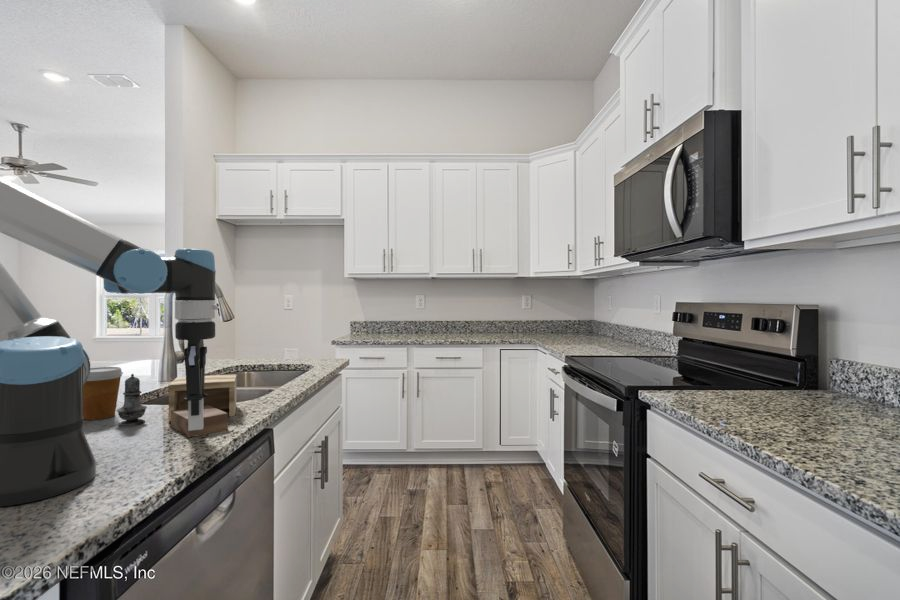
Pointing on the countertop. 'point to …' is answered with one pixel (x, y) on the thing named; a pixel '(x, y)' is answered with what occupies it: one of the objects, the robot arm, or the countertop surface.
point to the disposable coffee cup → (101, 392)
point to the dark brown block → (211, 416)
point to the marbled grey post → (131, 404)
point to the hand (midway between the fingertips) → (196, 429)
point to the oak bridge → (216, 388)
